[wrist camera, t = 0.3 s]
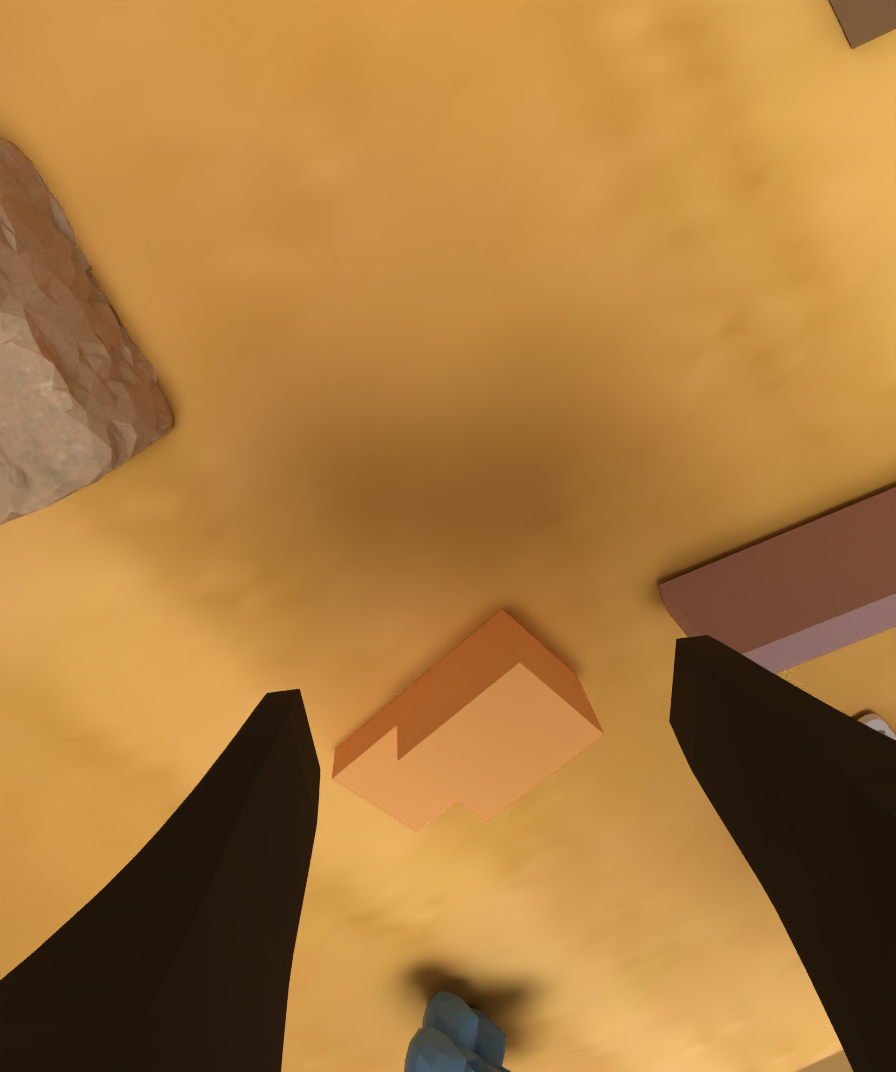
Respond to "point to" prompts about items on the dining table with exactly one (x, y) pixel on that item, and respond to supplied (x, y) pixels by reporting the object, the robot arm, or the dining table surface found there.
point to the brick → (61, 357)
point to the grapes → (455, 1039)
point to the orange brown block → (471, 730)
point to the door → (797, 588)
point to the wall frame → (865, 18)
